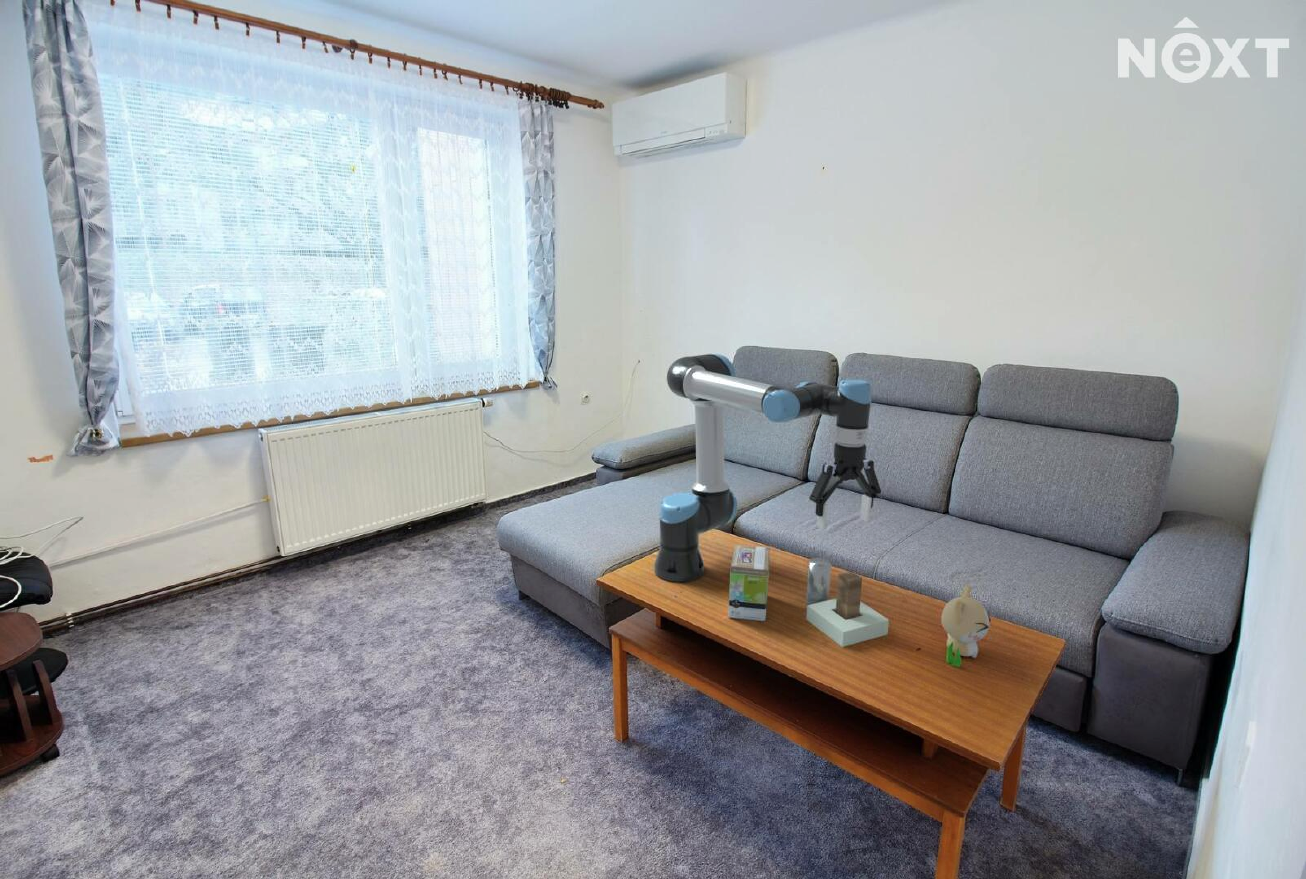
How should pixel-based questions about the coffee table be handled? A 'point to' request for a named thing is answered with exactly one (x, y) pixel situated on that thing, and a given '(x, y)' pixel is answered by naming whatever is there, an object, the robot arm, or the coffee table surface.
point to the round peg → (818, 580)
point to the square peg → (848, 595)
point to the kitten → (964, 626)
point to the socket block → (847, 623)
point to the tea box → (749, 582)
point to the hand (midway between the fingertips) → (843, 524)
